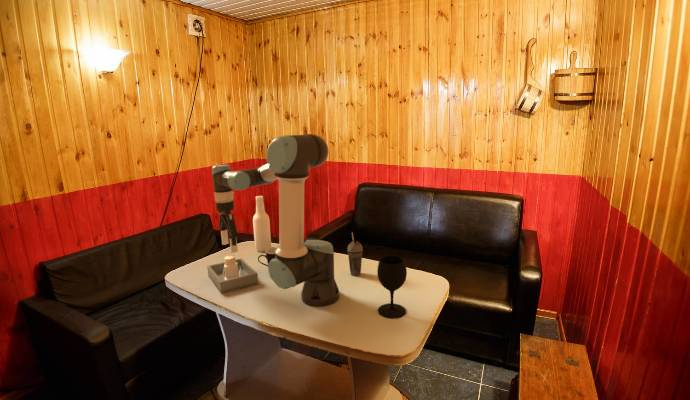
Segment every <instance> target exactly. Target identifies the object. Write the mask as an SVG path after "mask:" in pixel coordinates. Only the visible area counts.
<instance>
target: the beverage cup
mask: <svg viewBox="0 0 690 400" xmlns="http://www.w3.org/2000/svg"><path fill="white" fill-rule="evenodd" d="M351 238H352V241H351V242H350V243H349V244H348V246H347V250H346V252H347V255H348V263H349V273H350V275H351V276H352V277H360V276H361V272H362V258H363V252H364V249H363V245H362V243H360V242H359V241H355V239H354V238H355V237H354V233H353V232H351Z"/></svg>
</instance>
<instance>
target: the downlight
mask: <svg viewBox="0 0 690 400" xmlns="http://www.w3.org/2000/svg"><path fill="white" fill-rule="evenodd" d="M223 261H224V262H225V265H224V269H225V276H226V277H225V280H228V279H232V278H236V277H240V276H241V275H240V272H239V270H238V264H237V262H236V256H235V255H232V254H231V255H226V256H225V257H224V259H223ZM240 270H241V267H240ZM223 275H224V271H223ZM223 278H224V276H223Z"/></svg>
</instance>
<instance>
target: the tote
mask: <svg viewBox="0 0 690 400" xmlns="http://www.w3.org/2000/svg"><path fill="white" fill-rule="evenodd" d="M235 260H236V262H237V264H238V270H239V272H240V275H241V276H240V277H236V278H232V279H228V280H225V277H226V276H225V269H224V265H225V261H224V262H223V261H222V262H219V263H214V264H211V265H206V268H207V275H208V278H209V279H210V280H211V282H212V283H213V285H214V286H215V287H216V289H217V290H218V292H219V293H220V294H221V295H222V294H226V293H229V292H234V291H237V290H240V289H244V288H247V287H248V288H249V287H251V286H255V285H258V284H259V278H258V277H259V276H258V272H257V271H256V270H255V269H254V268H252V266H250V265H249V264H248V263H247V262H246V261H245V260H244V259H243V258H241V257H240V258H235ZM240 267H241V270H240ZM223 271H224V275H223ZM223 276H224V278H223Z"/></svg>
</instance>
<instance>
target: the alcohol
mask: <svg viewBox="0 0 690 400" xmlns="http://www.w3.org/2000/svg"><path fill="white" fill-rule="evenodd" d="M270 222H271V221H270V216H269V214H268V213H267V212H266V210H265V204H264V196H263V195H256V196H255V213H254V215H253V217H252V226H253V238H254V249H255V250H256V251H257V252H260V253H266V252H265V251H266V250H267V249H270V248H272V237H271V225H270V224H271V223H270Z"/></svg>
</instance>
